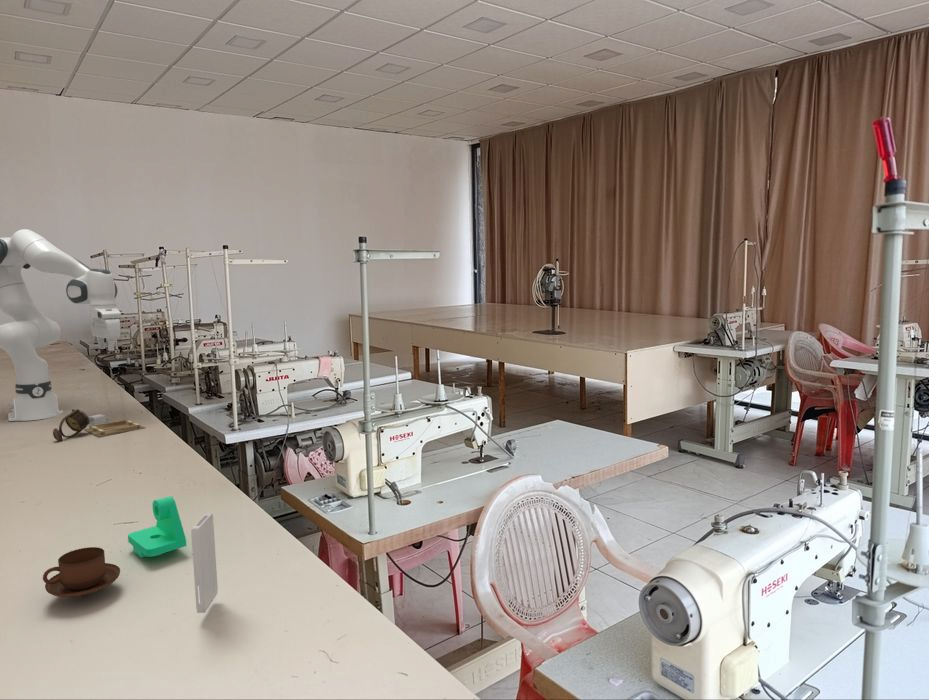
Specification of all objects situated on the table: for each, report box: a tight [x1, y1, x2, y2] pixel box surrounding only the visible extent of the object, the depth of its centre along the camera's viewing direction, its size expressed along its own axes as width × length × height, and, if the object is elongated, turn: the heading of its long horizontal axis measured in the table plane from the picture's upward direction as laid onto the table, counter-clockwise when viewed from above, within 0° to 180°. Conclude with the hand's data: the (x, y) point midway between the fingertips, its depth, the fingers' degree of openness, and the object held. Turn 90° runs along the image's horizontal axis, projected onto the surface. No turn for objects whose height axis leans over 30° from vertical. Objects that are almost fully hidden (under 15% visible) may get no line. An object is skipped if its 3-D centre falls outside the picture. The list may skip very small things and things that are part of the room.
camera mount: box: [127, 495, 187, 558], centre depth 137 cm, size 12×8×10 cm, turn 45°
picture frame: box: [83, 419, 146, 439], centre depth 240 cm, size 15×16×2 cm
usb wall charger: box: [88, 413, 112, 426], centre depth 251 cm, size 4×7×4 cm, turn 151°
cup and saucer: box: [42, 546, 121, 598], centre depth 121 cm, size 12×12×6 cm
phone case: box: [190, 513, 219, 614], centre depth 113 cm, size 7×1×15 cm, turn 3°
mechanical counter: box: [52, 408, 90, 442], centre depth 230 cm, size 7×13×10 cm, turn 174°
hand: (106, 349), depth 246 cm, fingers open, 8 cm apart
